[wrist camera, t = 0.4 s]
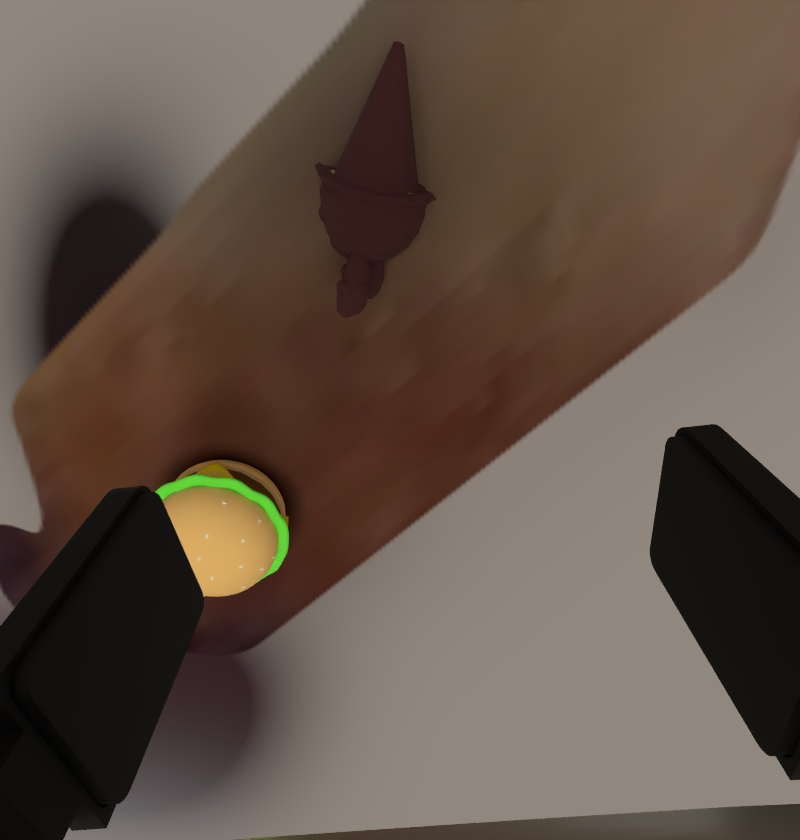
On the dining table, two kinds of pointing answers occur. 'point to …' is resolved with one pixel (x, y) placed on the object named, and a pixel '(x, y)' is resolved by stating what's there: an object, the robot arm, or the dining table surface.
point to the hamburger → (228, 524)
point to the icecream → (374, 188)
